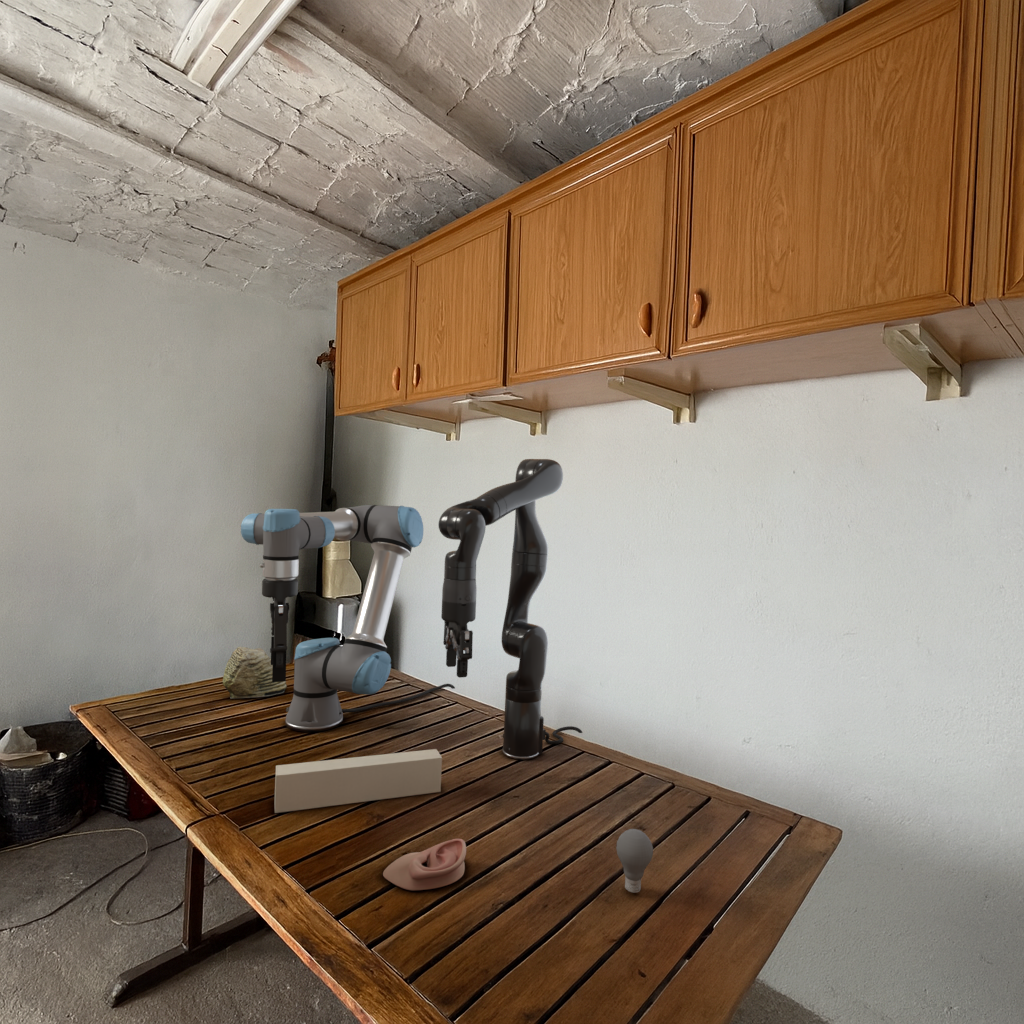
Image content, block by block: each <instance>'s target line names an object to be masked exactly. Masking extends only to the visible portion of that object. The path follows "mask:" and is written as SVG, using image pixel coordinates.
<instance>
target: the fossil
mask: <svg viewBox="0 0 1024 1024" xmlns="http://www.w3.org/2000/svg"><path fill="white" fill-rule="evenodd" d="M272 669H273V665H271V657H270V656H269V655H268V654H267V653H266V652H265V650H264V649H263V648H260V647H258V648H251V647H247V646H246V647H245V646H238V647H237V648H236V649H235V650H233V651H232V653H231V656H230V657H229V659H228V660H227V663H226V666H225V668H224V671H223V675H222V676H223V677H222V685H223V687H224V688H225V690H226V691H228V693H229V698H230V699H250V698H264V697H271V696H275V695H281V694H284V693H285V691H286V689H287V687H288V686H287V680H286V681H284V682H272Z"/></svg>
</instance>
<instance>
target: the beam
mask: <svg viewBox="0 0 1024 1024" xmlns="http://www.w3.org/2000/svg"><path fill="white" fill-rule="evenodd" d="M442 765H443V757H442V755H441V753H440V752H439V751H438V749H437V748H432V749H423V750H422V749H421V750H413V751H412V750H411V751H404V752H394V753H393V752H392V753H385V754H375V755H365V756H364V755H363V756H355V757H346V758H345V757H344V758H336V759H326V760H316V761H307V762H305V761H304V762H296V763H288V764H278V765H275V773H274V774H275V777H274V814H279V813H287V812H295V811H303V810H309V809H310V810H311V809H318V808H325V807H326V808H327V807H333V806H343V805H350V804H357V803H363V802H371V801H380V800H387V799H395V798H403V797H410V796H420V795H427V794H434V793H441V790H442V768H443V767H442Z"/></svg>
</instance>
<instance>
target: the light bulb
mask: <svg viewBox="0 0 1024 1024" xmlns="http://www.w3.org/2000/svg"><path fill="white" fill-rule="evenodd" d="M615 849H616V854H617V857H618V859H619V861H620V863H621V865H622V867H623V873H624V874H623V875H624V876H625V878H624V888H625V890H627V891H628V892H630V893H634V894H635V893H639V892H640V891H641V889H642V887H641V886H642V879H643V877H644V875H645V871H646V868H647V867H648V866H649V864H650V863H651V861H652V859H653V855H654V847H653V843H652V841H651V838H649V836H648V835H647V834H646V833H645V832H643V831H642V830H641V829H636V828H629V829H627V830H625V831H623V832H622V833H621V834H620V835H619V837H618V839H617V841H616V847H615Z"/></svg>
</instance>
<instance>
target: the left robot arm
mask: <svg viewBox="0 0 1024 1024" xmlns="http://www.w3.org/2000/svg"><path fill="white" fill-rule="evenodd" d="M240 535H241V537H242V538H243V540H244V541H245V542H246V543H248V544H254V545H256V546H260V545H262V546H263V547H262V549H263V550H262V553H263V554H262V559H263V560H262V562H261V563H260V564H259V568H261V569H262V577H263V580H262V581H261V595H262V596H263V597H265V598H269V599H271V598H272V602H270V603H269V613H270V618H271V627H270V630H271V637H270V638H271V639H270V649H269V653H270V658H271V665H273V669H272V682H284V681H286V682H287V650H288V646H287V645H288V644H287V643H288V623H289V613H290V603H289V602H287V600H286V599H287V598H294V597H297V595H298V593H299V580H298V579H297V577H298V576H299V571H300V569H299V568H300V567H299V565H300V558H299V557H300V555H299V554H300V550H306V549H307V550H308V549H320V548H323V547H327V546H328V545H330V544H331V543H332V542H333V540H334V539H336V540H339V541H341V542H342V541H343V542H347V541H351V542H358V543H365V544H370V547H371V549H372V550H373V556H372V560H371V563H370V568H369V571H368V576H367V578H366V583H365V586H364V590H363V593H362V596H361V600H360V604H359V608H358V610H357V611H358V612H357V615H356V619H355V623H354V626H353V630H352V633H351V634H350V635H348V636H346V637H345V638H344V642H343V645H340V644H341V642H340V640H339V638H337V637H321V638H313V639H307V640H304V641H302V642H299V643H298V644H297V645H296V647H295V652H294V653H295V654H294V658H293V659H294V670H293V671H294V672H293V695H292V696H293V697H292V699H291V702H290V704H289V706H288V707H285V712H287V713H286V715H285V726H286V728H287V729H289V730H291V731H294V732H295V731H296V732H301V733H316V732H325V731H329V730H332V729H335V728H337V727H339V726H340V725H342V723H343V722H344V714H343V713H358V712H363V711H367V710H370V709H375V708H379V707H385V706H391V705H397V704H402V703H405V702H408V701H409V702H410V701H412V700H415V699H417V698H420V697H423V696H426V695H428V694H430V693H432V692H434V691H439V690H442V689H445V688H450V689H452V690H454V689H456V686H454V685H453V684H451V683H444V684H441V685H438V686H435V687H432V688H429V689H426V690H424V691H422V692H420V693H417V694H414V695H411V696H408V697H405V698H401V699H396V700H395V699H394V700H390V701H384V702H378V703H374V704H369V705H365V706H362V707H357V708H342V706H341V702H340V699H339V695H338V691H341V692H347V693H352V694H356V695H367V696H369V695H375V694H376V693H378V692H379V691H380V690H381V689H382V688H383V687H384V686H385V685H386V683H387V682H388V679H389V676H390V673H391V669H392V663H391V662H392V659H391V656H390V654H389V653H387V650H388V646H387V645H386V643H385V641H384V639H385V635H386V632H387V631H386V630H387V628H388V624H389V619H390V615H391V611H392V608H393V603H394V599H395V595H396V592H397V587H398V583H399V579H400V575H401V572H402V567H403V563H404V560H405V559H406V558H408V557H410V556H411V553H412V549H413V548H417V547H419V546H420V545H421V544H422V541H423V540H424V539H423V538H424V522H423V518H422V516H421V514H420V512H419V511H418V510H417V509H416V508H414V507H411V506H404V505H383V504H382V505H381V504H363V505H357V506H349V507H339V508H337V509H335V511H316V512H315V511H314V512H300V511H299V510H298V509H295V508H268V509H267V510H266V511H265V512H264V513H262V512H258V513H249V514H248V515H246V516H245V517H244V518H243V519H242V522H241V525H240Z"/></svg>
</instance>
